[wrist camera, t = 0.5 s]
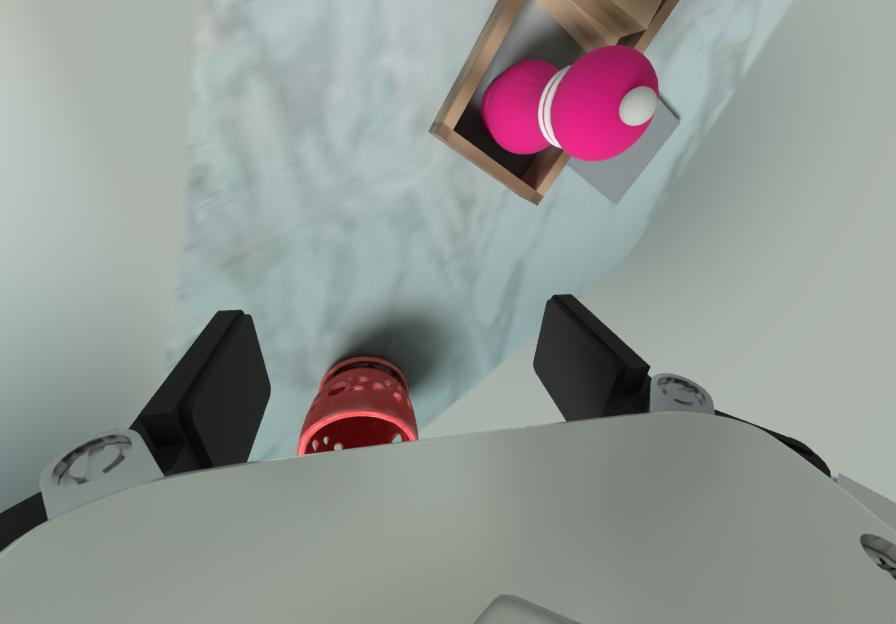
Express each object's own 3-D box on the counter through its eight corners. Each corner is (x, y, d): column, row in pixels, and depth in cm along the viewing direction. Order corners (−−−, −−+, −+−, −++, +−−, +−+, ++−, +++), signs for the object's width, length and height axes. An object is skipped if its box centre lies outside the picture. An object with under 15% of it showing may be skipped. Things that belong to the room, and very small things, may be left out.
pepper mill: (460, 115, 34) (554, 116, 17) (510, 46, 32) (675, -34, 15) (509, 165, 37) (630, 208, 20) (557, 105, 35) (738, 96, 18)
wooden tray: (573, -141, 26) (612, -190, 22) (661, -20, 31) (707, -41, 27) (428, 131, 34) (437, 134, 29) (518, 195, 39) (537, 205, 34)
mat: (619, 61, 34) (624, 59, 33) (674, 122, 38) (680, 122, 37) (555, 155, 37) (559, 155, 37) (613, 202, 41) (617, 203, 41)
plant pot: (407, 340, 45) (419, 405, 35) (410, 411, 52) (420, 484, 42) (303, 349, 43) (283, 422, 33) (320, 423, 49) (307, 503, 39)
